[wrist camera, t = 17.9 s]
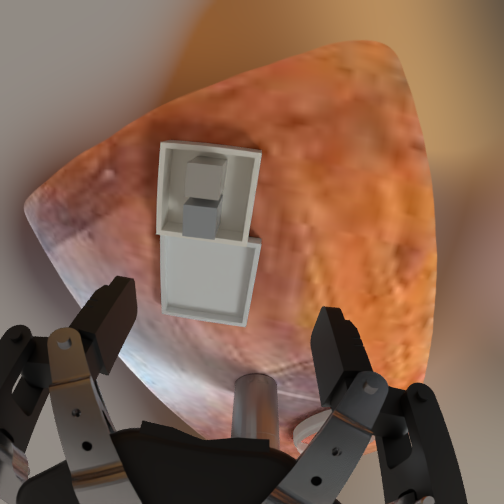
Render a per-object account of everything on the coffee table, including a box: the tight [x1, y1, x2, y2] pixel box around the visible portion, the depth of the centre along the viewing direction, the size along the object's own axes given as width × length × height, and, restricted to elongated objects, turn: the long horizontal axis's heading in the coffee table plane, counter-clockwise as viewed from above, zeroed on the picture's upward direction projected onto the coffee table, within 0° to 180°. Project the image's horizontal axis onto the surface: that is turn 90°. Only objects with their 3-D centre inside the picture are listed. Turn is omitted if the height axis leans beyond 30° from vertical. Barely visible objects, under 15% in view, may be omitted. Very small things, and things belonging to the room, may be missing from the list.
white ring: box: [293, 409, 375, 453], centre depth 65 cm, size 27×27×6 cm
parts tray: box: [160, 235, 261, 327], centre depth 43 cm, size 15×14×2 cm
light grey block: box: [184, 156, 228, 200], centre depth 33 cm, size 4×4×6 cm
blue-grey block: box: [182, 195, 223, 240], centre depth 35 cm, size 4×4×6 cm
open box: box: [156, 140, 262, 247], centre depth 36 cm, size 12×12×4 cm
